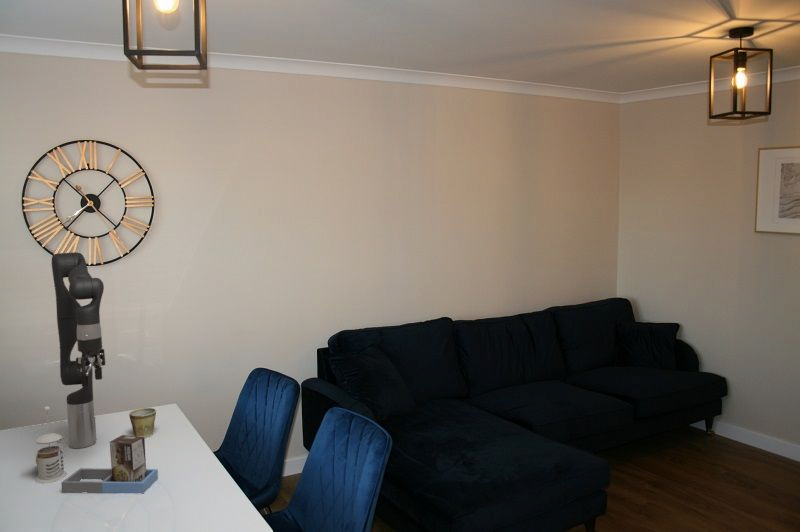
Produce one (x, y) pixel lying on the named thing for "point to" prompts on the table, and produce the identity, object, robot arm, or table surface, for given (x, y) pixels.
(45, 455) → the lemon
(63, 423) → the table surface
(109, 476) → the frame
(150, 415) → the ceramic cup
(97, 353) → the robot arm
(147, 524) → the table surface
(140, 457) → the coffee box
